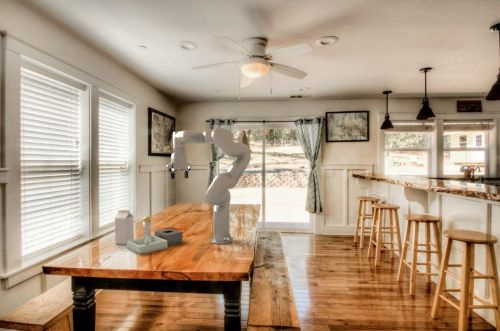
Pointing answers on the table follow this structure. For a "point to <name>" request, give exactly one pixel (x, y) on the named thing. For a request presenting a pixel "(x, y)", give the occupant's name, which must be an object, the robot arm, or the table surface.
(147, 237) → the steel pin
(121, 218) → the milk carton
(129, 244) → the tray
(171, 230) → the hitch block
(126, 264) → the table surface
